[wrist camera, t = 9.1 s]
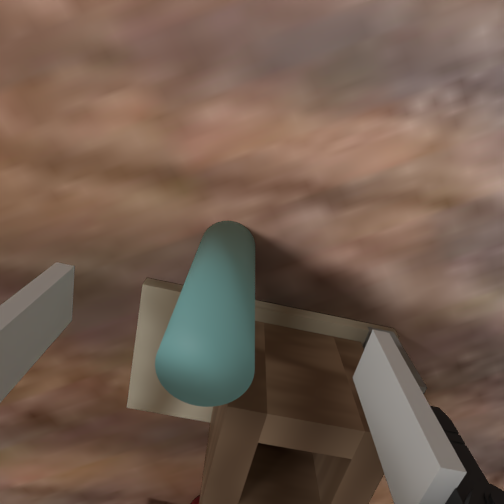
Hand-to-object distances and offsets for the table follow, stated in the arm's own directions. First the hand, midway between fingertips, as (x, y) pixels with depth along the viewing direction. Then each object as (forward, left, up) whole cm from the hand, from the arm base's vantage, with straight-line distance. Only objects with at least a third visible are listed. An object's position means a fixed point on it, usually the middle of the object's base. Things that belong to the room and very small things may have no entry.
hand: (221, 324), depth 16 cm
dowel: (0, 0, -9) cm, 9 cm away
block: (+6, -9, -8) cm, 13 cm away
